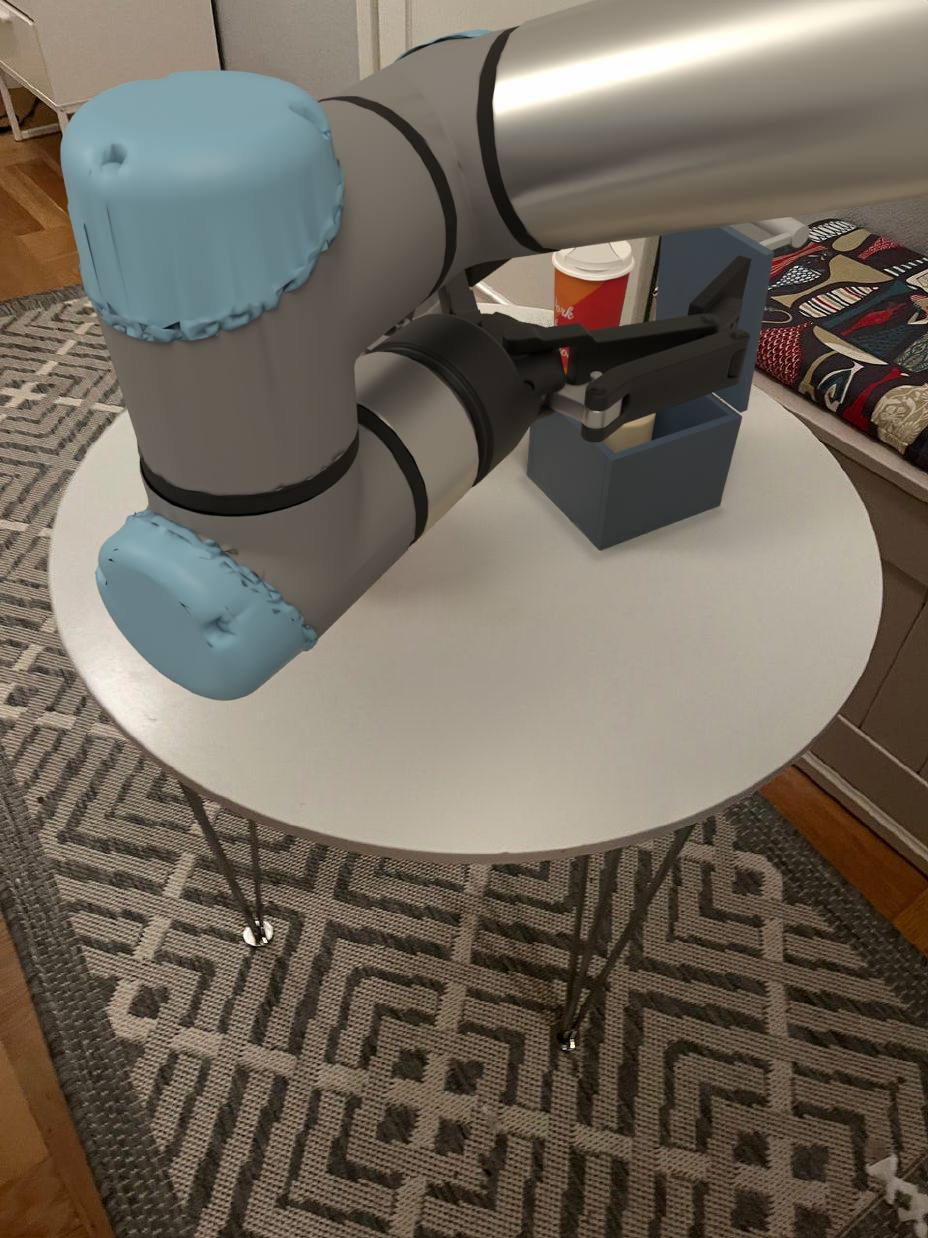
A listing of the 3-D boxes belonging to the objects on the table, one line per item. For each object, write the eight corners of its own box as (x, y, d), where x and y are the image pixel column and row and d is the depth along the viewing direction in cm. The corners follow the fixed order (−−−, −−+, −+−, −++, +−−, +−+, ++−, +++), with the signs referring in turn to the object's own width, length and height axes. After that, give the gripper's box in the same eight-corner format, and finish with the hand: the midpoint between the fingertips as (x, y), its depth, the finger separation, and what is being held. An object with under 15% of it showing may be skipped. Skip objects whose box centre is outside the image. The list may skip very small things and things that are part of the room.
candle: (576, 495, 89) (586, 403, 82) (593, 462, 92) (605, 371, 85) (633, 510, 87) (649, 417, 80) (648, 476, 91) (665, 384, 84)
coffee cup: (545, 358, 108) (555, 226, 97) (619, 363, 107) (637, 231, 96) (539, 398, 102) (549, 262, 91) (617, 405, 101) (636, 268, 90)
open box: (599, 550, 85) (612, 460, 78) (526, 474, 92) (532, 386, 85) (720, 505, 89) (742, 416, 82) (640, 436, 97) (655, 349, 90)
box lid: (766, 254, 71) (844, 224, 73) (664, 194, 79) (737, 168, 81) (740, 413, 82) (809, 383, 84) (652, 346, 90) (717, 320, 92)
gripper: (220, 411, 50) (447, 258, 62) (659, 595, 40) (822, 372, 53) (192, 273, 44) (446, 136, 57) (691, 448, 35) (864, 238, 47)
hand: (627, 249), depth 55 cm, fingers open, 13 cm apart
